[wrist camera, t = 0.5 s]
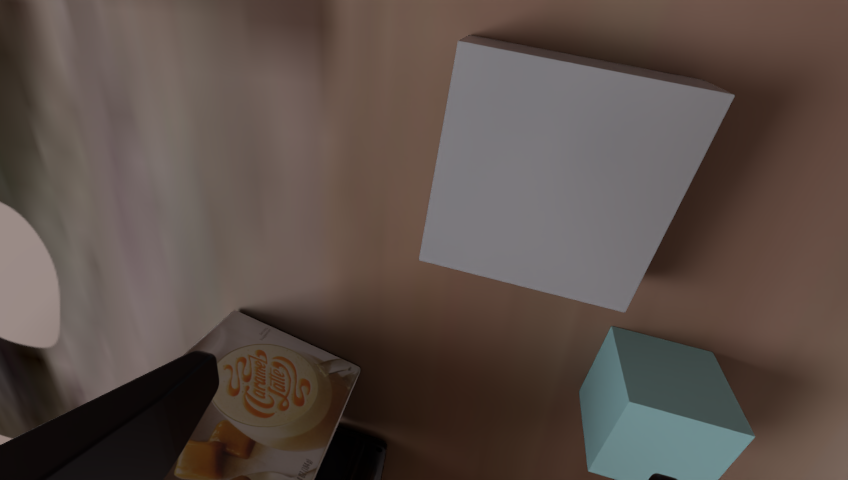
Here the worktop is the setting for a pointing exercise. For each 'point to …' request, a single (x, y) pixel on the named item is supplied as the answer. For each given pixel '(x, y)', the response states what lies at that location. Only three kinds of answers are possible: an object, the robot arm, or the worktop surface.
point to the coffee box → (265, 406)
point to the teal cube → (659, 411)
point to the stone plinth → (563, 168)
